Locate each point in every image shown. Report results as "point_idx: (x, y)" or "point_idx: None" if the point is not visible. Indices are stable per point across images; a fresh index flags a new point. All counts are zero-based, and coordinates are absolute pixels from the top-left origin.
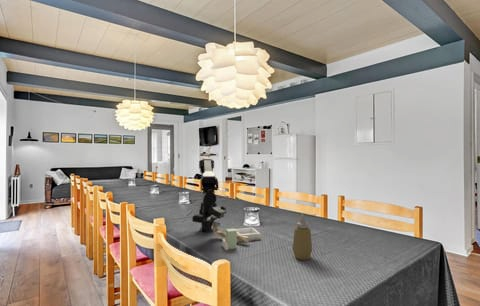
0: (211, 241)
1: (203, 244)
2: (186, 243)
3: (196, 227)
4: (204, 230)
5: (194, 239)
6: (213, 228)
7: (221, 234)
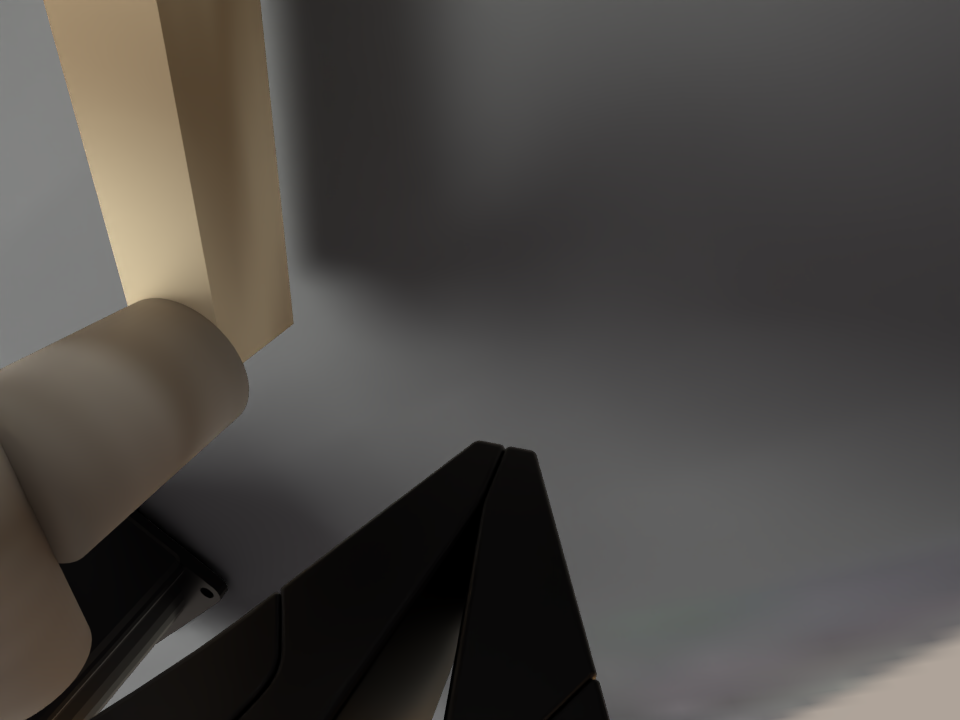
0: (548, 260)
1: (848, 344)
2: (854, 649)
3: (147, 670)
4: (177, 578)
5: (577, 591)
6: (181, 457)
7: (217, 73)
